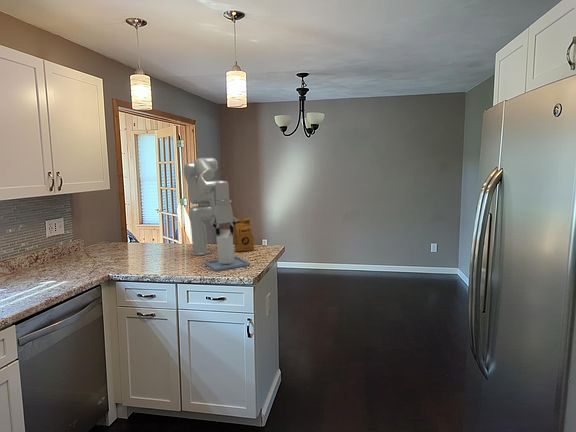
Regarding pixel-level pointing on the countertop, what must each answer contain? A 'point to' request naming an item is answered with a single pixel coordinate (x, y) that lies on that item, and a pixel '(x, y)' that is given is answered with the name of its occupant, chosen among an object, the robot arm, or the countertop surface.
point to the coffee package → (243, 235)
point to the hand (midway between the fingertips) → (224, 234)
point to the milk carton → (225, 246)
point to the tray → (227, 264)
